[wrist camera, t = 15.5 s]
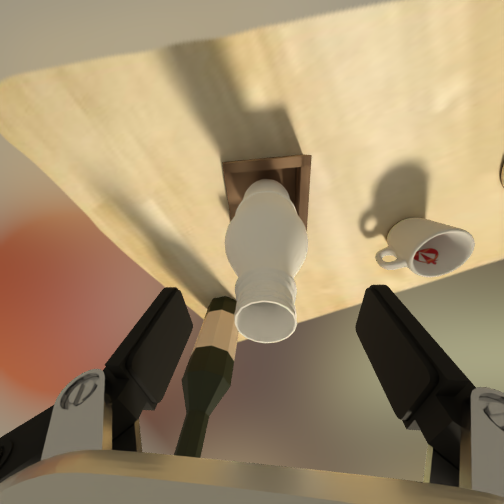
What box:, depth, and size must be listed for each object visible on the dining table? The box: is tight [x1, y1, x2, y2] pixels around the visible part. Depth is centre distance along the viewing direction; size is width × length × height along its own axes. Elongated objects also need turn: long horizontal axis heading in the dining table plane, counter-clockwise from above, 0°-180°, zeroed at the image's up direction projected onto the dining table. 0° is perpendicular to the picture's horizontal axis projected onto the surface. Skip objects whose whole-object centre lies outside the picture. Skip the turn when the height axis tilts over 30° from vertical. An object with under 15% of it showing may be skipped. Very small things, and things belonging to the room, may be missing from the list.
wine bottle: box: [174, 296, 238, 458], centre depth 32 cm, size 8×8×30 cm
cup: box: [375, 218, 475, 277], centre depth 29 cm, size 11×8×8 cm
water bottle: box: [225, 179, 308, 343], centre depth 19 cm, size 7×7×25 cm
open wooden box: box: [222, 155, 311, 231], centre depth 29 cm, size 12×12×6 cm
